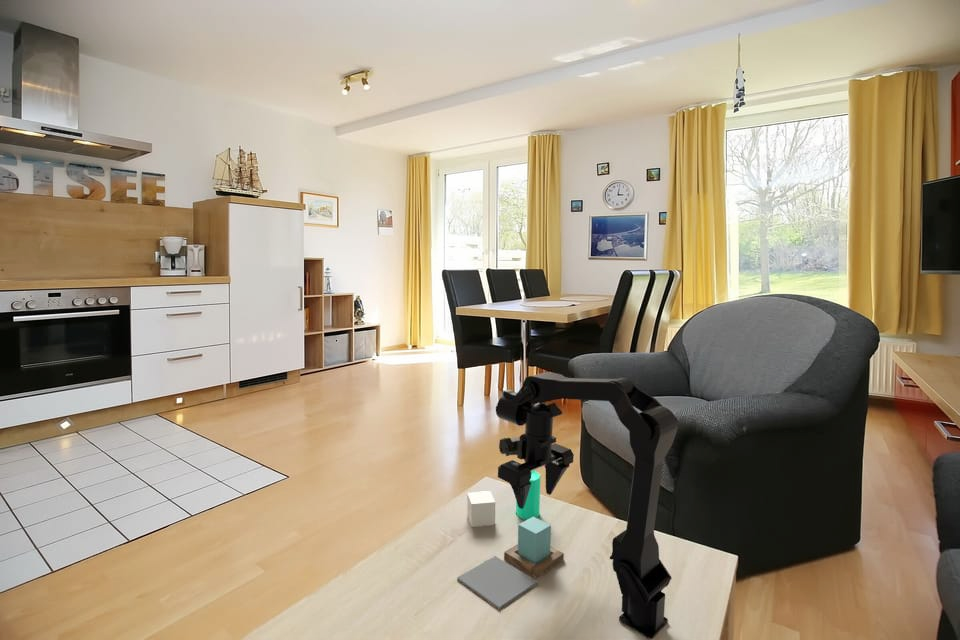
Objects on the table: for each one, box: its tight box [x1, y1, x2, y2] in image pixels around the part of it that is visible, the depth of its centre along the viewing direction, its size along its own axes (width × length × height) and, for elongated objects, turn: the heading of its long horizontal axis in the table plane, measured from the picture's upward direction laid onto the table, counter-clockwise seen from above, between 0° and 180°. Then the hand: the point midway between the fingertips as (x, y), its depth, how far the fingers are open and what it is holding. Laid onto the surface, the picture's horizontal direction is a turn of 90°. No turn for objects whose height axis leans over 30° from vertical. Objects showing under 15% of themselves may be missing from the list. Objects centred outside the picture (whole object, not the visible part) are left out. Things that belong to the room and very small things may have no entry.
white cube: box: [466, 490, 496, 528], centre depth 126 cm, size 6×6×6 cm
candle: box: [515, 470, 541, 520], centre depth 129 cm, size 6×6×12 cm
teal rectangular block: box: [517, 517, 552, 565], centre depth 109 cm, size 5×5×8 cm
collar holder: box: [503, 543, 565, 578], centre depth 110 cm, size 9×9×2 cm
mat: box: [457, 555, 538, 610], centre depth 102 cm, size 12×11×1 cm
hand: (535, 500), depth 108 cm, fingers open, 9 cm apart
